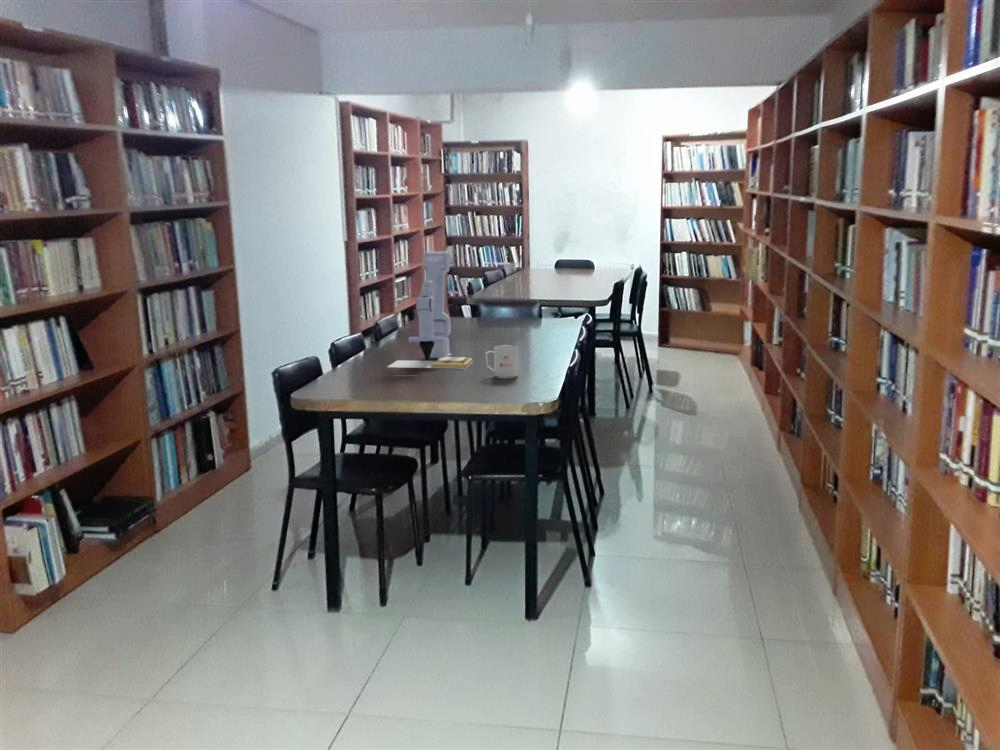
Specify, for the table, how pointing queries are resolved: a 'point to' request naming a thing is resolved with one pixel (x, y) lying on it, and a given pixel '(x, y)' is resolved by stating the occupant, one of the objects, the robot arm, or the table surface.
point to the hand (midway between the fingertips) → (427, 360)
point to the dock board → (431, 364)
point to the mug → (505, 361)
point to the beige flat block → (452, 360)
